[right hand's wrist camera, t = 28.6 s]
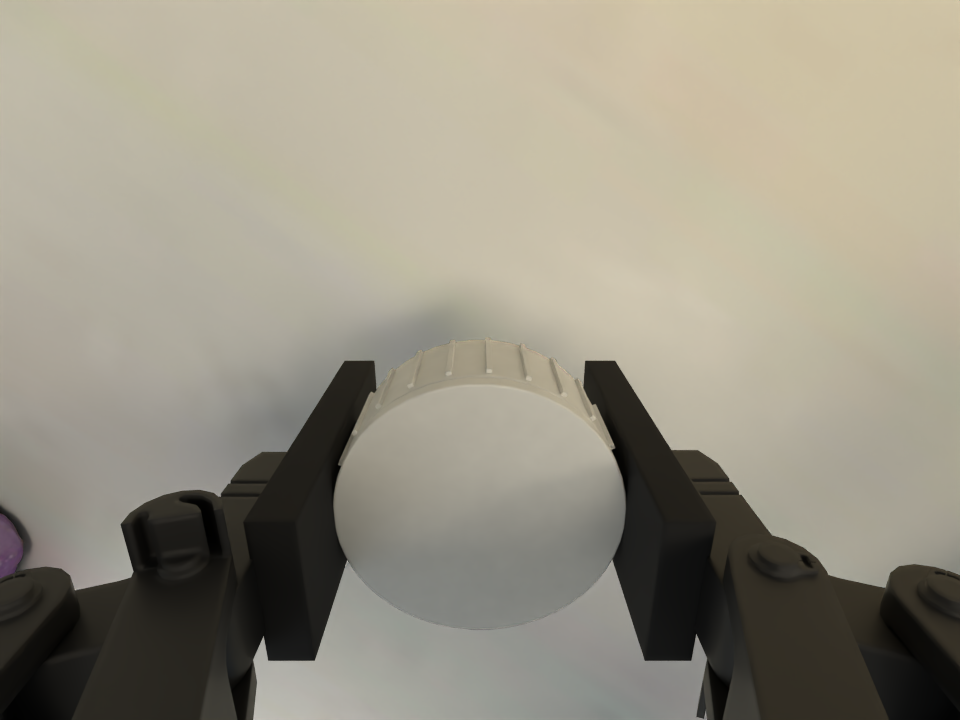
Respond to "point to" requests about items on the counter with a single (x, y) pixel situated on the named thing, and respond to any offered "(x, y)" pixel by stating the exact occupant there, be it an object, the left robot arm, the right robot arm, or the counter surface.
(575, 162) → the counter surface
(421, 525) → the lid
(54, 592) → the right robot arm
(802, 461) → the counter surface
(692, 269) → the counter surface
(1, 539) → the figurine
